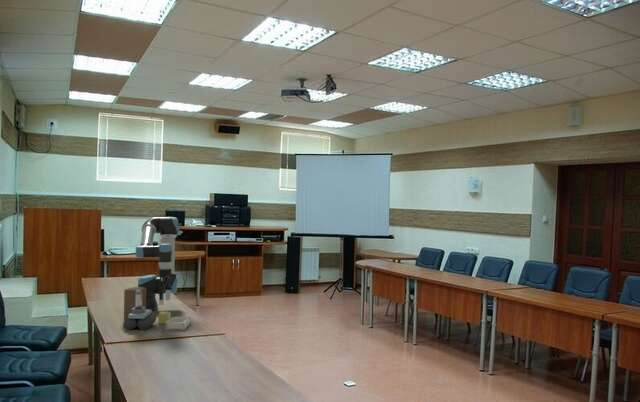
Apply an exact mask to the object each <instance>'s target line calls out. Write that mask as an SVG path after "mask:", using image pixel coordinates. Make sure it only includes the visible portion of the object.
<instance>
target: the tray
mask: <svg viewBox="0 0 640 402" xmlns="http://www.w3.org/2000/svg"><path fill="white" fill-rule="evenodd" d="M190 325H191V316H170V319H169V320H168V321H167V322H165V323H164V330H165V331H185V330H186V329H188V327H189V326H190Z"/></svg>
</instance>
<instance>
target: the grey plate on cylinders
mask: <svg viewBox="0 0 640 402" xmlns="http://www.w3.org/2000/svg"><path fill="white" fill-rule="evenodd" d="M152 312H153V311H152V310H149V309H145V307H142V309H135V307H134V308H132V313H131V314H129V315H128V318H127V319H126V320H125V321H124V320H123V327H124V328H125V329H126V330H128V331H131V330H134V329H135V328H137V327H138V329H139V330H141V331H145V330H148V329H149V328H150V327H151V326H152V325H153V324H154V323H156V320H157V318H156V317H157V316H156V315H155V314H154V313H152Z"/></svg>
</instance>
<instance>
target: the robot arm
mask: <svg viewBox="0 0 640 402" xmlns="http://www.w3.org/2000/svg"><path fill="white" fill-rule="evenodd" d="M141 233H142V234H141V240H140V245H138V246H135V258H137V259H139V258H141V259H143V258H145V259H146V258H149V259H150V258H155V259H156V258H158V259H159V260H158V263H157V265H158V276H156V274H148V275H142V276H140V277H139V278H138V279H137V287H143V288H146V309H149V310H152V312H153V311H156V310H158V309H159V306H164V305H165V301H171V294H174V293H175V294H176V292H177V290H178V289H177V288H178V283H179V275H178V276H177V272H176V271H175V257H176V256H175V250H176V247H175V246H176V238H177V237H178V234H180V225H179V219H178V218H177V217H176V216H175V217H174V216H155V217H151V218H149V219H147V220H146V221H145V222H144V223H143V224H142V226H141ZM155 234H160V237H161V239H162V240H161V243H160V244H159V245H154V244H153V243H154V238H155ZM156 294H157V295H158V301H157V298H156V297H157V296H156Z"/></svg>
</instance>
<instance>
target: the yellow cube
mask: <svg viewBox="0 0 640 402" xmlns="http://www.w3.org/2000/svg"><path fill="white" fill-rule="evenodd" d="M170 318H171V311H160V312H159V313H158V321H157V322H158V324H165V322H167V321H168V320H169V319H170Z"/></svg>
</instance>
